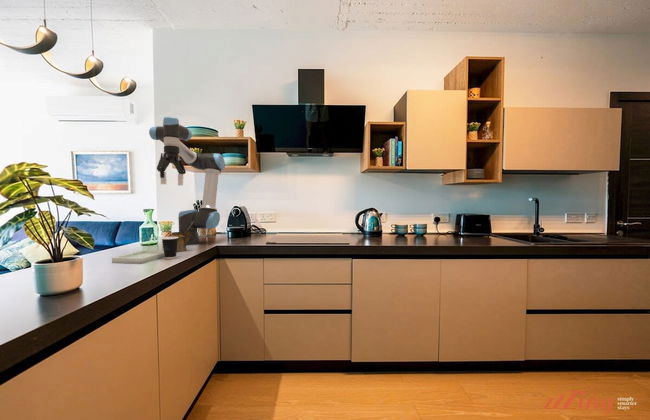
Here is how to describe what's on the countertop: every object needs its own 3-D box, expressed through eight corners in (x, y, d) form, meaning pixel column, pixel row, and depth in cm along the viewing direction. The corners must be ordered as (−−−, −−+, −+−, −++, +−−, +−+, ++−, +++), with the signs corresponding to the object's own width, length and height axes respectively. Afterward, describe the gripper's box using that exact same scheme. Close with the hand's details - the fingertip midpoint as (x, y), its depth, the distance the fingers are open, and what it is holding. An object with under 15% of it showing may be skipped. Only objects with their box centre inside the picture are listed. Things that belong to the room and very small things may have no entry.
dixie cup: (179, 256, 150) (178, 236, 150) (178, 258, 143) (178, 238, 143) (162, 257, 147) (161, 237, 146) (161, 260, 140) (160, 239, 139)
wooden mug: (194, 251, 164) (193, 221, 164) (167, 253, 159) (167, 221, 159) (195, 249, 172) (194, 220, 172) (170, 250, 167) (169, 220, 167)
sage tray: (144, 254, 155) (144, 250, 154) (170, 255, 152) (170, 251, 152) (112, 262, 135) (111, 257, 135) (141, 263, 132) (141, 258, 132)
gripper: (180, 150, 167) (181, 185, 168) (147, 141, 142) (148, 183, 143) (191, 149, 166) (192, 185, 167) (161, 141, 141) (162, 183, 142)
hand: (172, 184), depth 155 cm, fingers open, 13 cm apart
